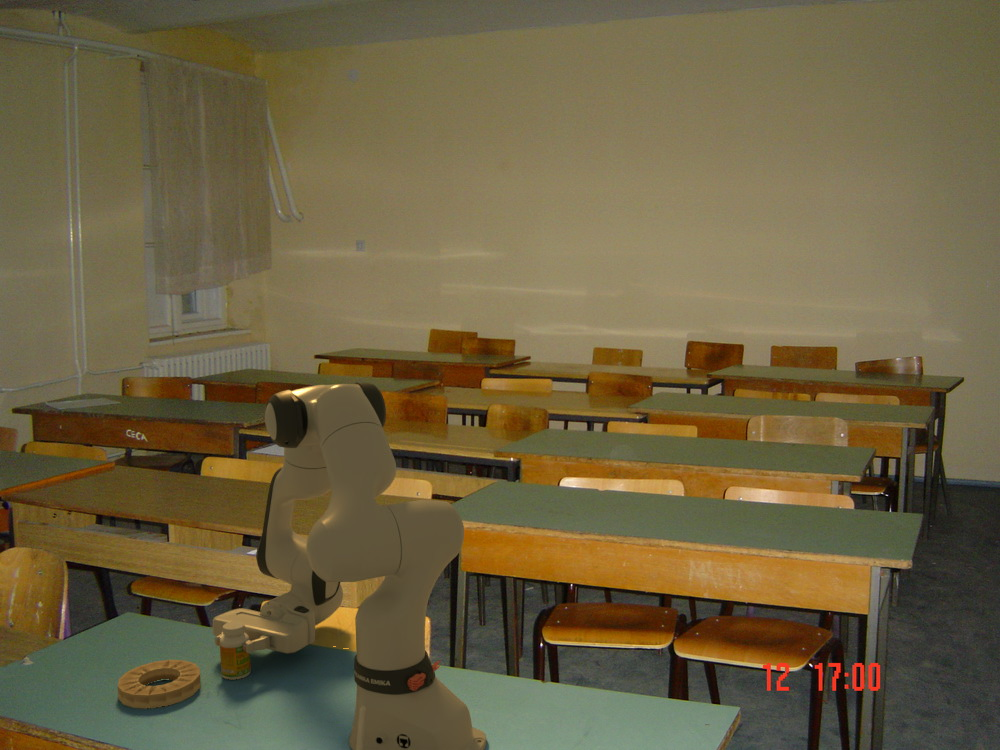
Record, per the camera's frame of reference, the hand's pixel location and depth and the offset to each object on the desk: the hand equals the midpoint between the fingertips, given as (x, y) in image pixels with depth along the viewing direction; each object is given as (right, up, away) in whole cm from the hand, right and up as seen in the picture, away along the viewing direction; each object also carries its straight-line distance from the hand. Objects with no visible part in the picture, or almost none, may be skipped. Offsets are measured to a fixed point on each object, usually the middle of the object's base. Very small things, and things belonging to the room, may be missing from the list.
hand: (231, 645), depth 174 cm
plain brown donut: (-12, -7, -4) cm, 14 cm away
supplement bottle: (+1, -6, +2) cm, 6 cm away
